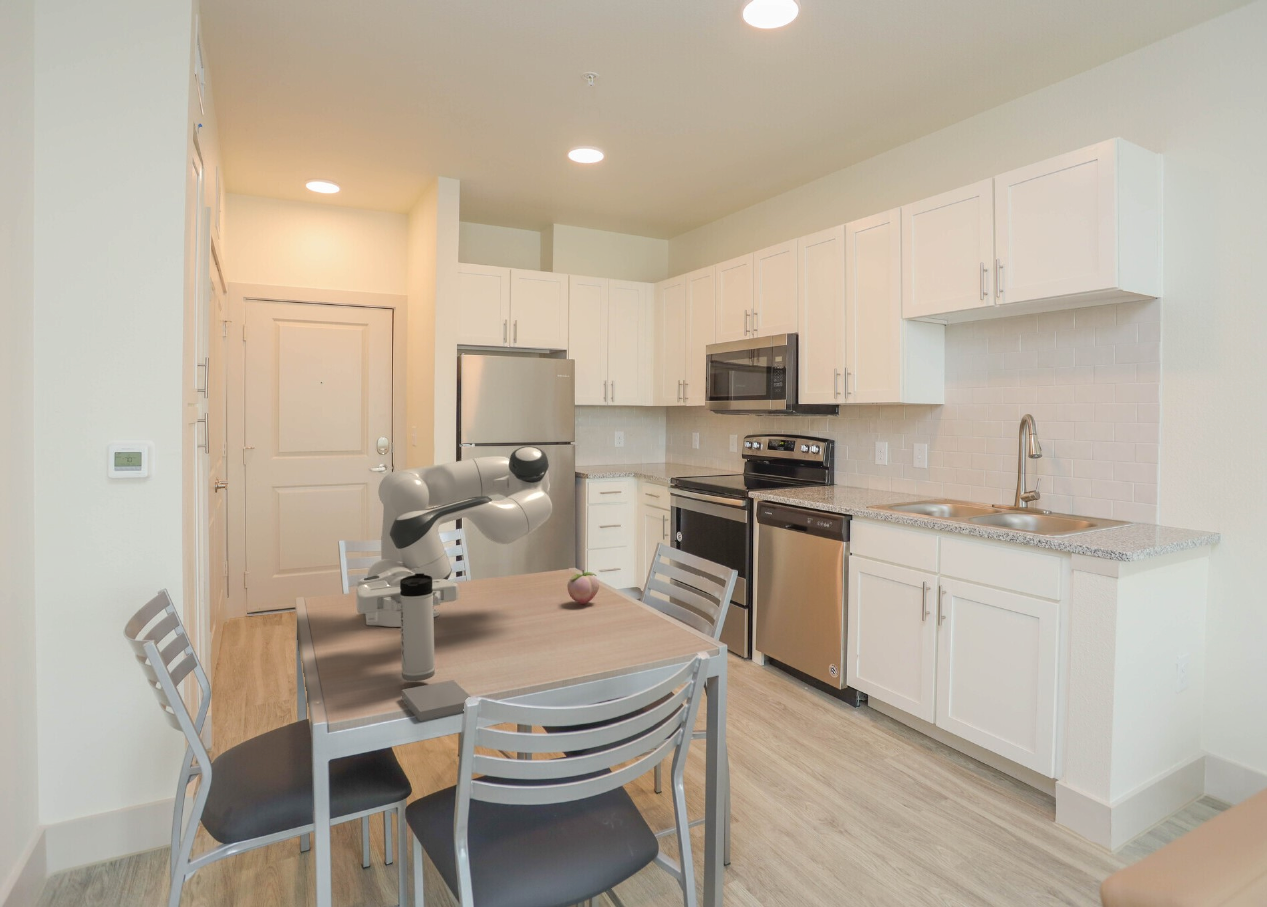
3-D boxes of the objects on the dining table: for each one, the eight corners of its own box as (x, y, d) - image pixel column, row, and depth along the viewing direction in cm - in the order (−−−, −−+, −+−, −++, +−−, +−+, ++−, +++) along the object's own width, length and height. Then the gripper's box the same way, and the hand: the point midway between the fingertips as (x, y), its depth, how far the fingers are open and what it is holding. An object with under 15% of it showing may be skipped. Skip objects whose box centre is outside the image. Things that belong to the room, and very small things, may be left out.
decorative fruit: (582, 598, 214) (583, 565, 213) (603, 603, 209) (603, 569, 208) (560, 605, 207) (560, 570, 206) (581, 610, 201) (581, 574, 201)
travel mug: (438, 669, 147) (435, 572, 147) (431, 680, 141) (428, 579, 140) (406, 670, 147) (404, 573, 146) (398, 681, 140) (395, 580, 140)
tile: (401, 689, 137) (420, 711, 127) (453, 679, 142) (474, 700, 132) (401, 701, 137) (420, 724, 127) (453, 690, 142) (474, 712, 132)
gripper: (447, 597, 160) (468, 612, 148) (350, 610, 149) (364, 627, 138) (447, 569, 160) (468, 582, 148) (350, 580, 149) (364, 595, 137)
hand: (417, 604), depth 143 cm, fingers closed on travel mug, 6 cm apart
